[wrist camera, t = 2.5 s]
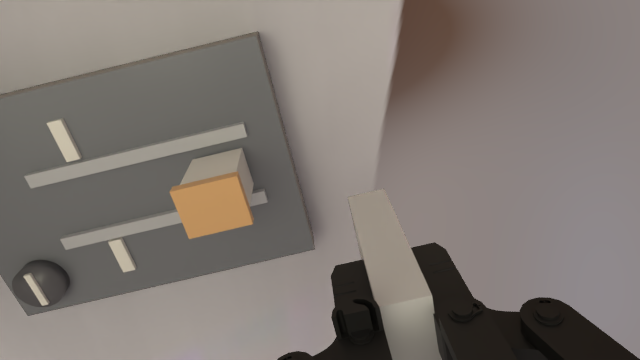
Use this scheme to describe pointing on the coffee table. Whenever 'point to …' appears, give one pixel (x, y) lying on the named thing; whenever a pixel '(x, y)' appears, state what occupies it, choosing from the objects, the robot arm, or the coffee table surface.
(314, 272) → the coffee table surface
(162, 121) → the console
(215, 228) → the fader
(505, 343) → the robot arm
